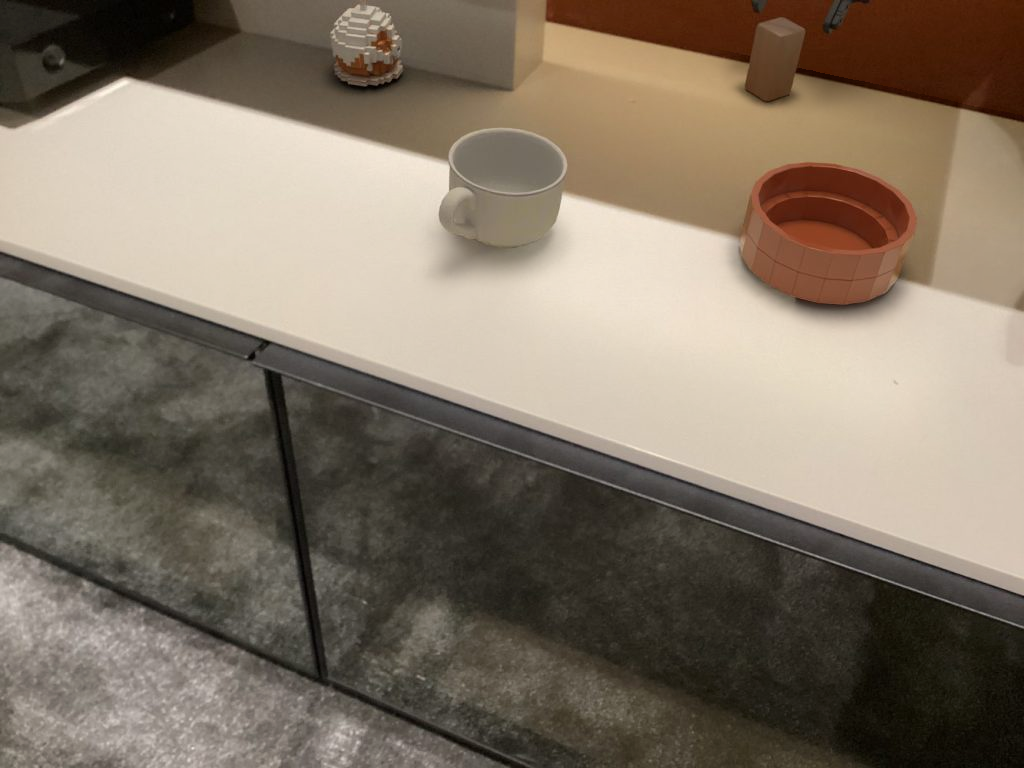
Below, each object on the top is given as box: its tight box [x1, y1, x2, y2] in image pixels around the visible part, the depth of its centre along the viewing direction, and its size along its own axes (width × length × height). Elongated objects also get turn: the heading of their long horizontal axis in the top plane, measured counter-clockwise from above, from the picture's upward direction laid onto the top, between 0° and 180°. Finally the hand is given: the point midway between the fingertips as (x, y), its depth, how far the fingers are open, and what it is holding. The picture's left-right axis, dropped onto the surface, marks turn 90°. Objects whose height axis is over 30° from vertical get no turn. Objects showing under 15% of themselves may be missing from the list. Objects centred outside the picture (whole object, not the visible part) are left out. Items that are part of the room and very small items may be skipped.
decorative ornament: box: [329, 0, 404, 87], centre depth 108 cm, size 8×8×15 cm
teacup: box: [438, 127, 569, 249], centre depth 89 cm, size 14×11×8 cm
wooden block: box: [744, 16, 806, 102], centre depth 110 cm, size 4×4×8 cm
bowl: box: [739, 161, 918, 306], centre depth 88 cm, size 14×14×6 cm
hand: (790, 20), depth 109 cm, fingers open, 8 cm apart
